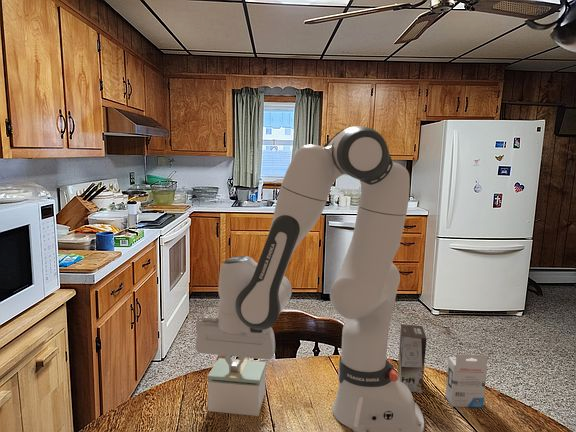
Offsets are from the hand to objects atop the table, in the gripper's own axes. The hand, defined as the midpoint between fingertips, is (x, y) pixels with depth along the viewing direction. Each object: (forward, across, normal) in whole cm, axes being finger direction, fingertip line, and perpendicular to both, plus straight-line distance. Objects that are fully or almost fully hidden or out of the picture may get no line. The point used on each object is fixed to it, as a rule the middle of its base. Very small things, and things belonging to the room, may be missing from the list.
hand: (234, 370), depth 103 cm
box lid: (+1, 0, +1) cm, 2 cm away
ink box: (+9, +61, +11) cm, 62 cm away
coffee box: (+9, +48, +18) cm, 52 cm away
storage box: (+10, +1, +2) cm, 10 cm away
